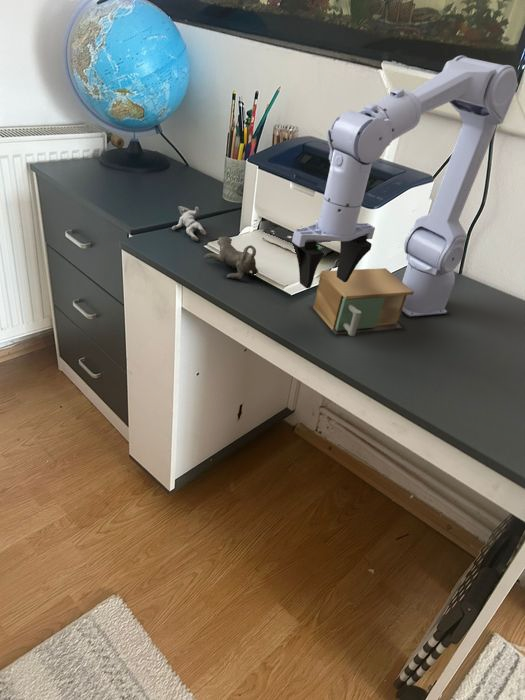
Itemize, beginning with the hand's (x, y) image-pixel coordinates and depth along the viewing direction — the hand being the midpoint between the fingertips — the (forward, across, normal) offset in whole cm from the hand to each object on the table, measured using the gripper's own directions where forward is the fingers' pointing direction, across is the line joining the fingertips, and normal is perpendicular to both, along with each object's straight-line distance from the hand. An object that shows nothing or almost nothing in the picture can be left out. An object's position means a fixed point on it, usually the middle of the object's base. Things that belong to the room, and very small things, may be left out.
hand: (323, 282), depth 85 cm
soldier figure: (+10, +2, -47) cm, 48 cm away
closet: (+10, -12, -3) cm, 16 cm away
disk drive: (+10, -21, -34) cm, 41 cm away
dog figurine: (+10, +2, -26) cm, 28 cm away
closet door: (+10, -9, +3) cm, 13 cm away
